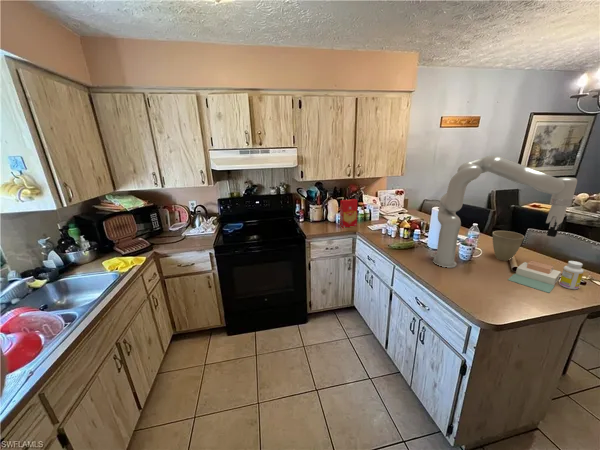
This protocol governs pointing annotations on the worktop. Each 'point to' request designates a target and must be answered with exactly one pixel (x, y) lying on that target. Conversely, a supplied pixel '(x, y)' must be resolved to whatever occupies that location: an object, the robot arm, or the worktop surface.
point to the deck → (538, 274)
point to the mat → (531, 283)
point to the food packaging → (348, 213)
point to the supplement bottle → (572, 275)
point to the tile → (540, 267)
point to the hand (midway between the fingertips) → (551, 235)
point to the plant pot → (506, 244)
